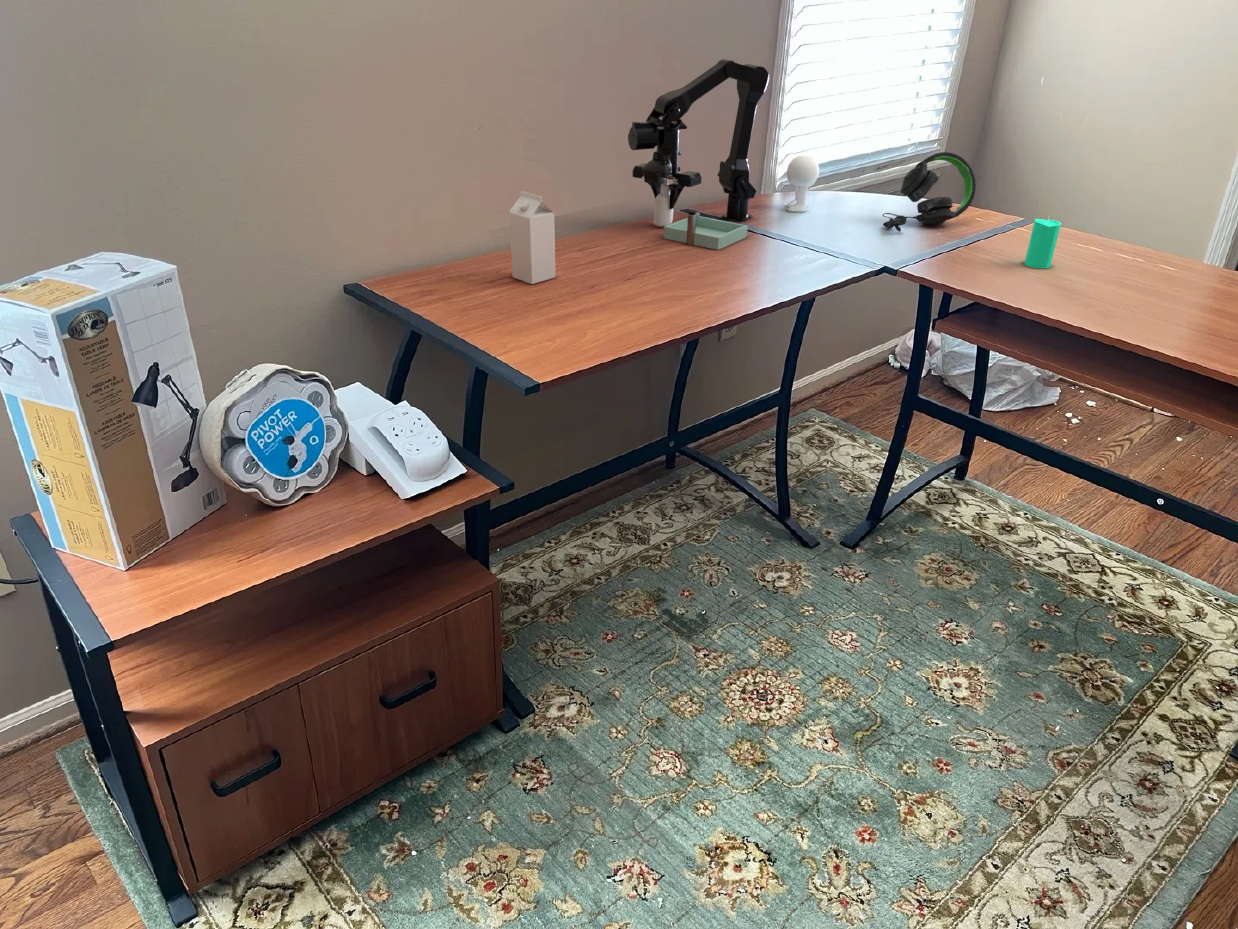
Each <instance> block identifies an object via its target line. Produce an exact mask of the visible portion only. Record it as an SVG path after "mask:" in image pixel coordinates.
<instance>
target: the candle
mask: <svg viewBox="0 0 1238 929" xmlns="http://www.w3.org/2000/svg"><path fill="white" fill-rule="evenodd" d="M1050 216H1051V215H1050V214H1049V215H1048V219H1042V218H1035V219H1034V221H1033V226H1032V230H1031V234H1030V239H1029V243H1028V247H1027V251H1026V255H1025V259H1024V263H1023V264H1024V265H1025V266H1027V267H1029V268H1032V269H1033V268H1034V269H1039V270H1040V269H1044V270H1045V269H1050V268H1051V265H1052V261H1053V257H1054V254H1055V250H1056V246H1057V243H1058V242H1057V241H1058V238H1059V233H1060V230H1061V226H1062V222H1061V221H1058V220H1054V219H1050Z"/></svg>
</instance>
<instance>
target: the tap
mask: <svg viewBox="0 0 1238 929" xmlns="http://www.w3.org/2000/svg"><path fill="white" fill-rule="evenodd" d="M699 216H701V212H700V211H697V210H694V209H689V210H688V213H687V218H688V222H687V242H686V243H685V244H686V245H687V246H695V245H694V233H695V232H696V218H697V217H699Z"/></svg>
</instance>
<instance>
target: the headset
mask: <svg viewBox="0 0 1238 929" xmlns="http://www.w3.org/2000/svg"><path fill="white" fill-rule="evenodd" d="M936 161H944V162H947V163H949V164H951V165H953V166H954V167H955V168H957V170H958V172H959V174H960V176H961V178H963V181H964V195H963V199H962V201H961V203H960V204H959V205H958V207H956V209H955V210H954V211H952V210H951V208H953V200H952V198H951V197H950V196H936V197H932V198H928V199H927V198H926V199H924V200H922V199H923V198H924V197H925V196H926V195H927V194H929V193H928V192H930V191H931V189H932V187H933V186H934V185H935V184H936V183H937V182H938V181H939V179H940V178H939V177H940V176H939V175H937V173H936V172H935V171H933V170H932V169H928V163H930V162H936ZM976 190H977V182H976V176H975V173H974V170H973V168H972V167H971V165H970V164H969V163H968V161H966V159H965V158H964V157H962V156H961V155H958V154H956V153H954V152H949V151H940V152H937V153H933V154H931V155H929V156H928V157H925V158H924V159H922V160H921V161H919V162H918V163H917V164H916V165H915V166H914V167H913V168H911V169H910V170H909V171H908V172H907V173H906V175H905V176H904V178H903V180H902V183H901V187H900V194H901V195H903V196H906V197H907V198H908V199H909V200H910V201H911V202H912V203H917V202H918V203H917V204H916V210H917V213H918V214H917V215H916V216H915V215H914V216H905V215H899V214H895V213H890V212H884V213H882V215H881V216H882V217H884V218H887V219H889V220H888V221H885V222H883V223H882V226H883V227H885V228H886V229H887V230H892V228H893V227H894V228H895V230H896V231H897V232H899V233H901V232H902V228H901V227H900V226H904V225H906V223H907V220H908V219H914V220H916V221H918V222H919V223H923V224H926V225H928V226H938V225H941V224H944V223H946V222H947V221H948V220H952V219H954V218H957V217H959V216H961V215H962V214H963V213H964V212H965V211H966V210H967V209H968V208H969V207H970V206H971V204H972V203H973V200H974V198H975V195H976ZM919 201H920V202H919ZM886 215H891V216H894V218H893V217H890V216H886Z"/></svg>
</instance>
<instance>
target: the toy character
mask: <svg viewBox="0 0 1238 929" xmlns="http://www.w3.org/2000/svg"><path fill="white" fill-rule="evenodd" d="M819 174H820V167H819V164H818V162H817V160H816V159H815V158H813V157H812V156H809V155H798V156H795V157H794V158H793V159H791V161H790V162H789V164H788V165H787V169H786V179H787V181H788V183H789V184H790V185H792V186H793V187H794V188H795V190H794V199H793V200H790V201H789V202H787V204H786V207H787V208H788V209H787V211H788V212H793V213H794V212H797V213H798V212H799V213H800V212H801V213H802V212H807V204H806V198H807V193H808V189H809V188H810V187H812V186H813V185H814V184H815V183H816V181H817V180H818V177H819Z"/></svg>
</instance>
